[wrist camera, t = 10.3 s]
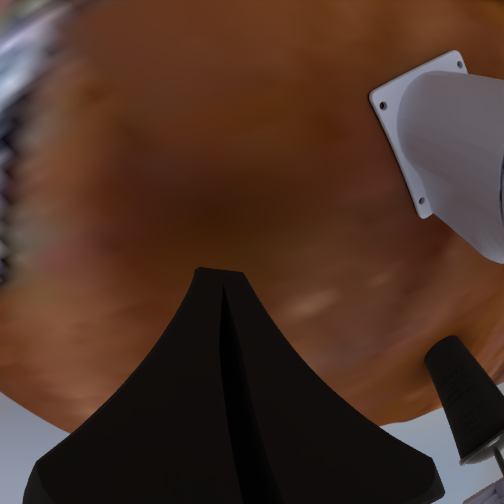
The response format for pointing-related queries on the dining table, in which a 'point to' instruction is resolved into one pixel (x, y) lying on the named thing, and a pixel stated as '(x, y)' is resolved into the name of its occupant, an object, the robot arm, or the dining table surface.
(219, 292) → the robot arm
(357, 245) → the dining table surface
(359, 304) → the dining table surface
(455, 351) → the drinking cup
